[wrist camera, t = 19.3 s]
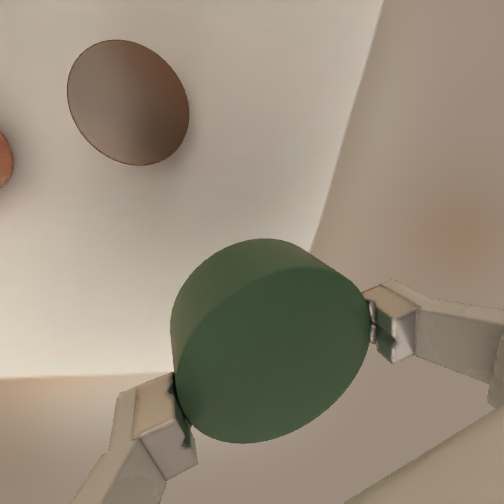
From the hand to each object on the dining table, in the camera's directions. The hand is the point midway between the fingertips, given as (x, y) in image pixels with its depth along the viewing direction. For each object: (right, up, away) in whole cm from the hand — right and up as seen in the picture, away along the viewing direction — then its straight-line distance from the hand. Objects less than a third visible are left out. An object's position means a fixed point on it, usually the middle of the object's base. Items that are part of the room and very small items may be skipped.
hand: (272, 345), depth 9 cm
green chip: (-1, +1, +2) cm, 2 cm away
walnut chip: (-8, +12, +9) cm, 17 cm away
